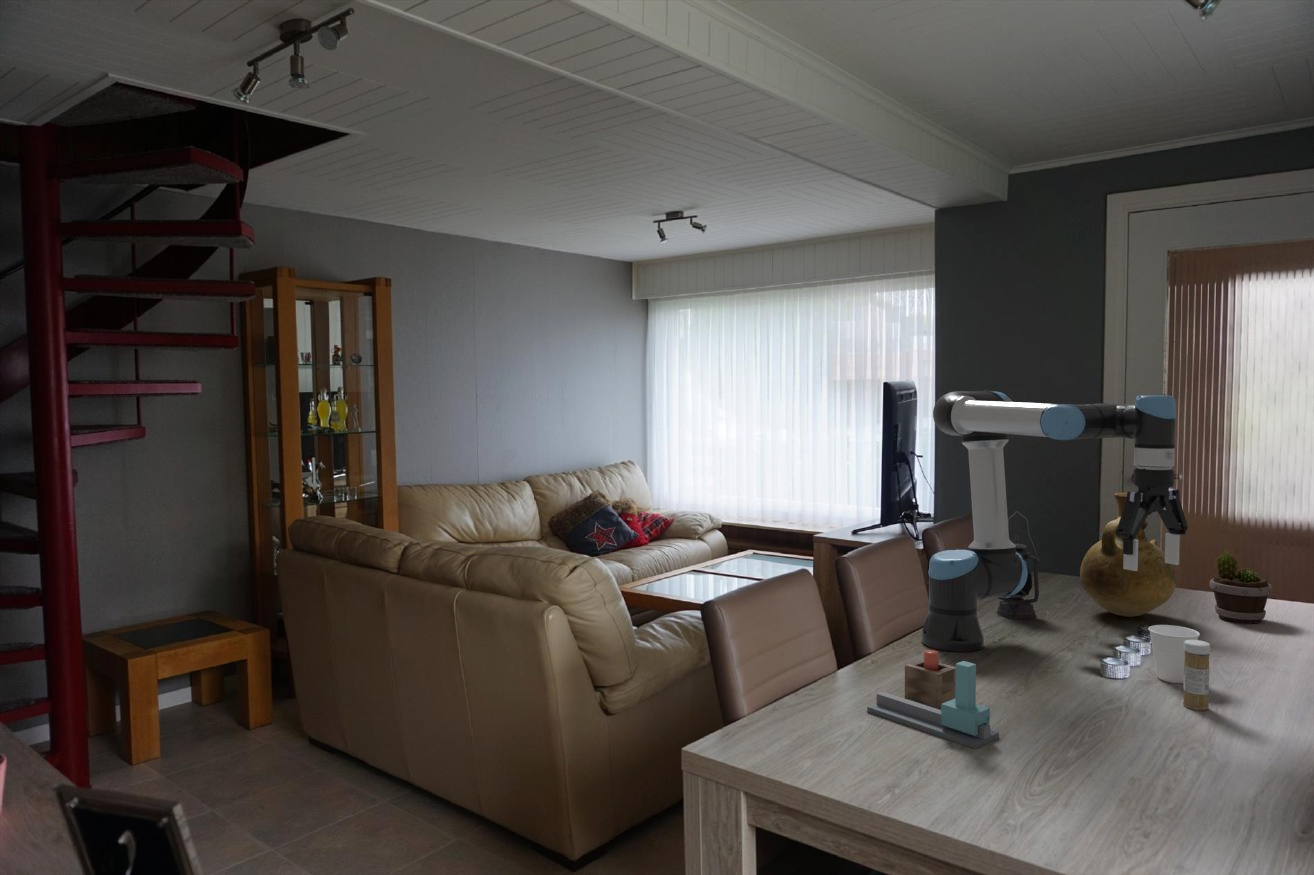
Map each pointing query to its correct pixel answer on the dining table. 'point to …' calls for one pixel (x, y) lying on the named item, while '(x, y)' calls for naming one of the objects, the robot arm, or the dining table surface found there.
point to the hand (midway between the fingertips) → (1151, 567)
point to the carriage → (965, 703)
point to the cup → (1170, 650)
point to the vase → (1126, 572)
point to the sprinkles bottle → (1196, 674)
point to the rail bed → (927, 720)
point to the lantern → (1016, 603)
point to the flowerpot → (1239, 591)
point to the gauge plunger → (931, 660)
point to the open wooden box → (930, 683)
